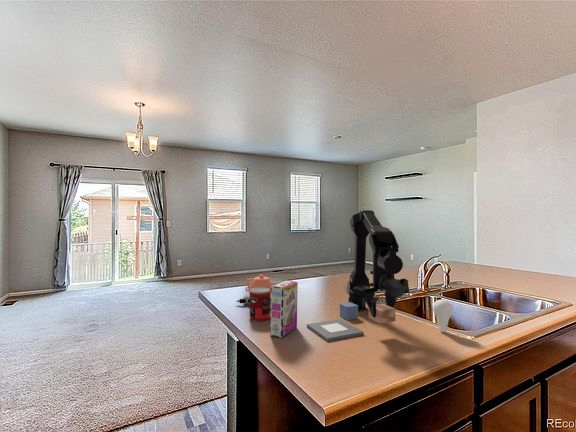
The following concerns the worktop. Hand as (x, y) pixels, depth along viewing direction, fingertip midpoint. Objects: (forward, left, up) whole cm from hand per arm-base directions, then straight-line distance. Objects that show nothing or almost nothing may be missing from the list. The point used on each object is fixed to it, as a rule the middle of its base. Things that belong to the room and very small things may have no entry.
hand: (381, 315), depth 102 cm
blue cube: (-1, -20, -7) cm, 21 cm away
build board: (+12, -10, -6) cm, 17 cm away
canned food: (+31, -33, -7) cm, 46 cm away
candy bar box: (+28, -16, -7) cm, 33 cm away
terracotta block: (0, 0, -1) cm, 1 cm away
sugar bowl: (+20, -66, -7) cm, 69 cm away
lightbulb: (-21, +6, -7) cm, 23 cm away
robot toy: (+27, -50, -7) cm, 57 cm away
